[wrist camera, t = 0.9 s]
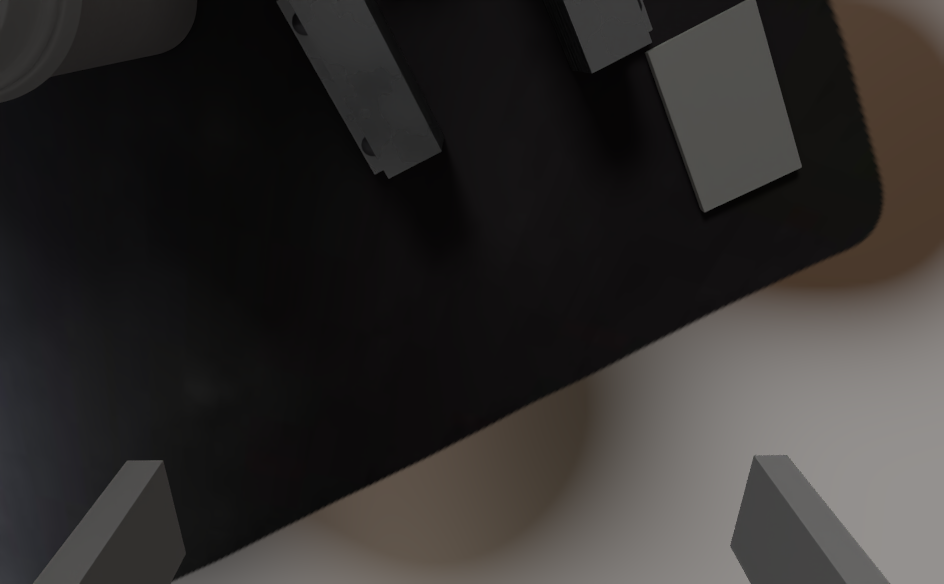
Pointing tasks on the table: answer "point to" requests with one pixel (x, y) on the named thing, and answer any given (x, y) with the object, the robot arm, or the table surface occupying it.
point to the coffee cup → (83, 36)
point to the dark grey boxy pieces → (393, 85)
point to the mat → (725, 105)
